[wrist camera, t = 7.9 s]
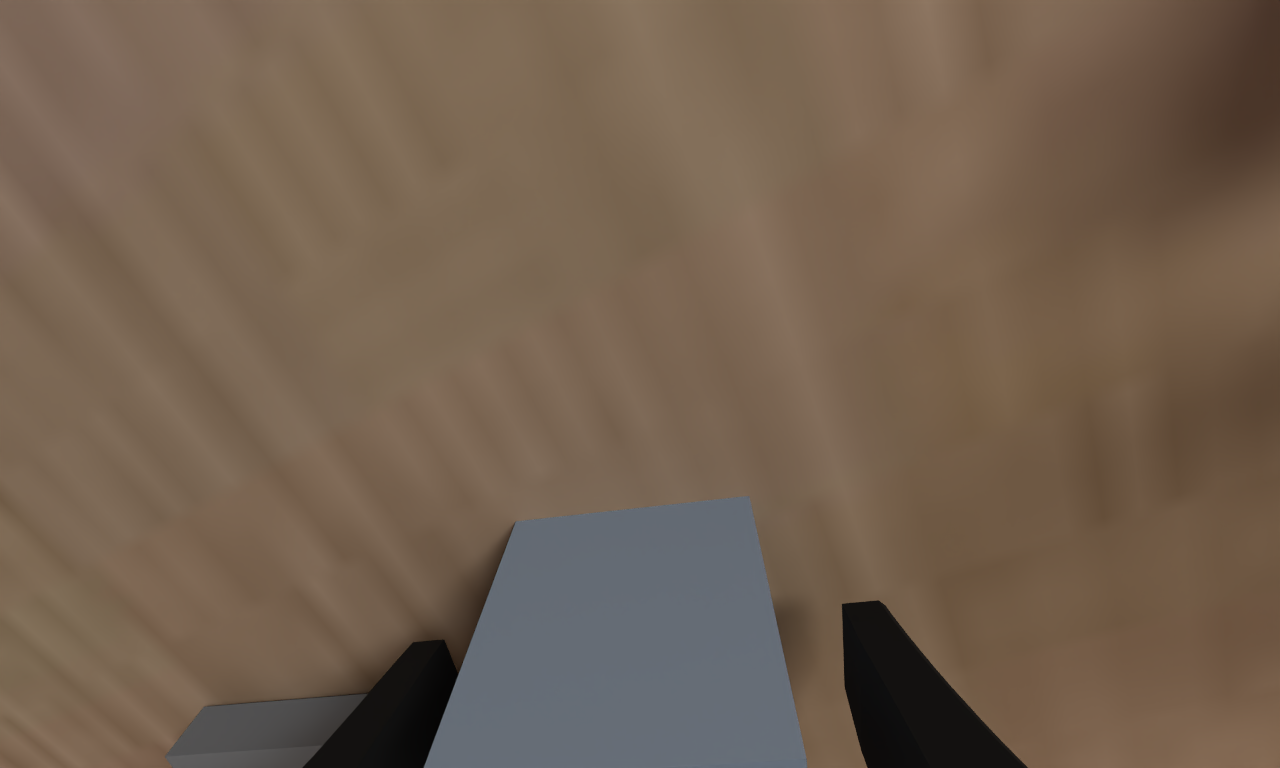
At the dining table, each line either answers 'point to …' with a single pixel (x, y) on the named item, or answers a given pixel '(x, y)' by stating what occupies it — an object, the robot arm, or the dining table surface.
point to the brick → (626, 648)
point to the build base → (261, 733)
